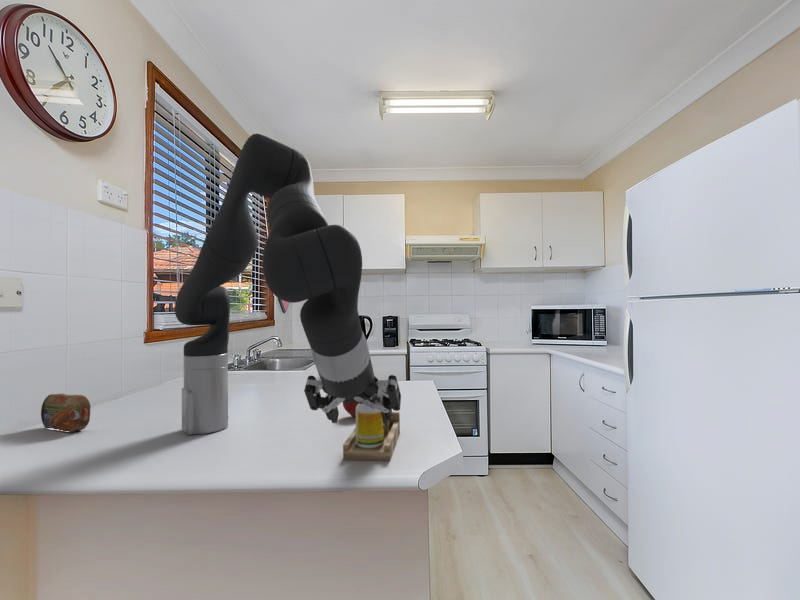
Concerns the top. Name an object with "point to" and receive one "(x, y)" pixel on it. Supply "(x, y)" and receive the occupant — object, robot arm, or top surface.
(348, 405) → the onion
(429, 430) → the top surface
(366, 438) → the supplement bottle
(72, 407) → the tin
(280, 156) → the robot arm
